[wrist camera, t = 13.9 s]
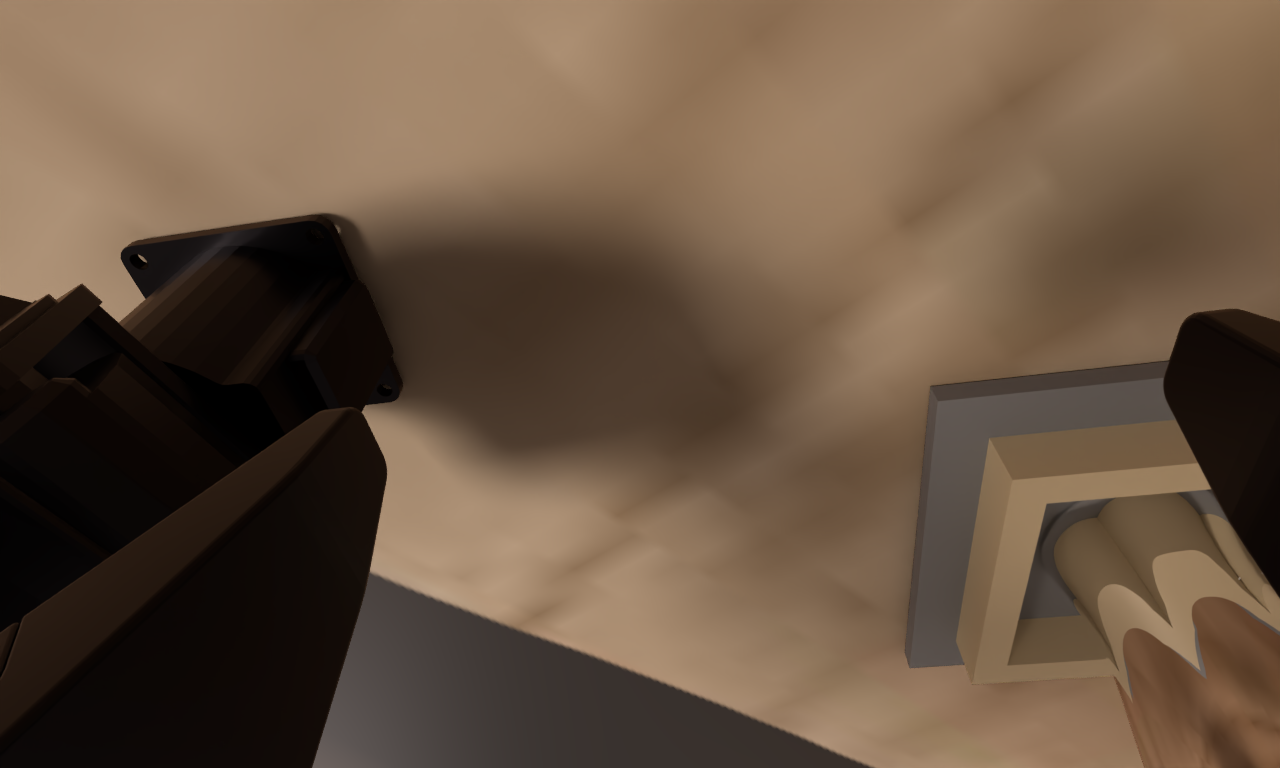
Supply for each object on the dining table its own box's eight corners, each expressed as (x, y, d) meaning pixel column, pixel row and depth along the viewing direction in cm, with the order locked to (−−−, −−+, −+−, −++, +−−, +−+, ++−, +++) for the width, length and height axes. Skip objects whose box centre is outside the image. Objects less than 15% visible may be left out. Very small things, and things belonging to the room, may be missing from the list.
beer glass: (1184, 595, 29) (1564, 1138, 17) (1005, 594, 29) (1249, 1129, 17) (1270, 464, 25) (1858, 1061, 12) (1060, 465, 25) (1436, 1049, 13)
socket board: (904, 651, 33) (922, 711, 30) (930, 386, 24) (958, 442, 22) (1266, 627, 31) (1313, 688, 29) (1435, 332, 22) (1522, 387, 20)
